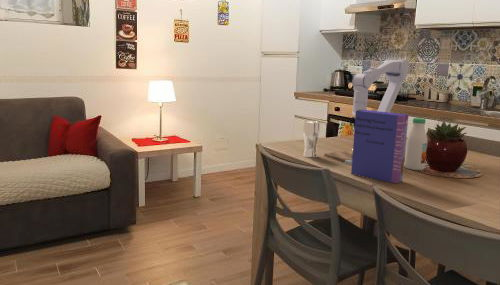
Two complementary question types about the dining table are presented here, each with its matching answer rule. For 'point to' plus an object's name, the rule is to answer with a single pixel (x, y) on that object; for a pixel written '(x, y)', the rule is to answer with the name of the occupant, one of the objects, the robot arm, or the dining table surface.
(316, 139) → the beer glass
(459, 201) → the dining table surface
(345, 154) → the door and jamb
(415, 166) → the milk bottle
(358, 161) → the purple book
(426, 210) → the dining table surface
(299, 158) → the dining table surface
